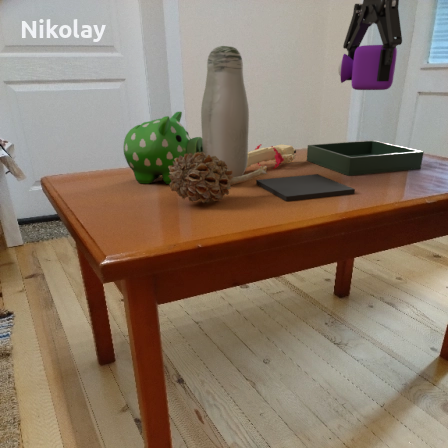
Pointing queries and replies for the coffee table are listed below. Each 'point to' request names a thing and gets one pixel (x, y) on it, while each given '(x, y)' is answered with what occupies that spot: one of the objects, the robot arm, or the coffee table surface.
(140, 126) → the piggy bank
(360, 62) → the toy camera
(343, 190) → the mat
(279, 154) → the beige long piece
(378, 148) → the bin
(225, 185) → the pine cone
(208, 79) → the grey bottle
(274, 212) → the coffee table surface
